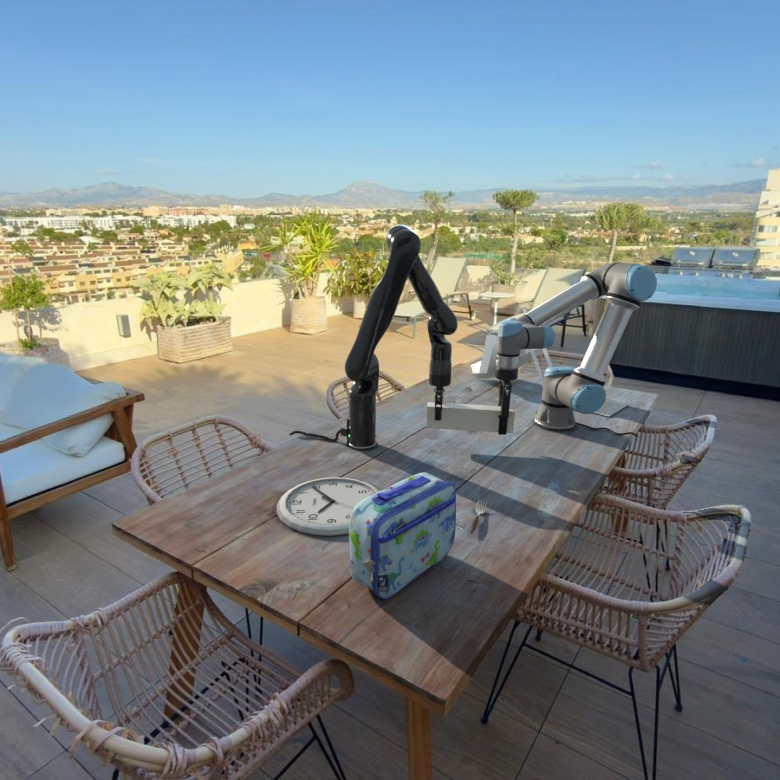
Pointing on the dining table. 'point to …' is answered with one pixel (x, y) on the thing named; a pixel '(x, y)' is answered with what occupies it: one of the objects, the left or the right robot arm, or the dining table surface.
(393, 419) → the dining table surface
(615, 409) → the invitation card
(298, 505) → the wall clock
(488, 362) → the white plastic object
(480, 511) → the fork
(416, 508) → the lunch box
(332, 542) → the dining table surface
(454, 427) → the beam
